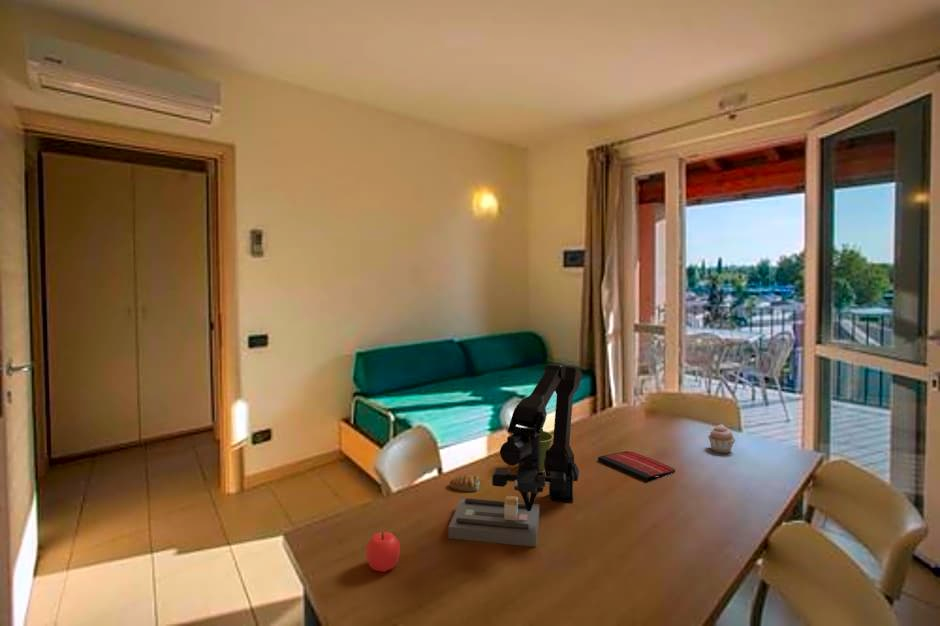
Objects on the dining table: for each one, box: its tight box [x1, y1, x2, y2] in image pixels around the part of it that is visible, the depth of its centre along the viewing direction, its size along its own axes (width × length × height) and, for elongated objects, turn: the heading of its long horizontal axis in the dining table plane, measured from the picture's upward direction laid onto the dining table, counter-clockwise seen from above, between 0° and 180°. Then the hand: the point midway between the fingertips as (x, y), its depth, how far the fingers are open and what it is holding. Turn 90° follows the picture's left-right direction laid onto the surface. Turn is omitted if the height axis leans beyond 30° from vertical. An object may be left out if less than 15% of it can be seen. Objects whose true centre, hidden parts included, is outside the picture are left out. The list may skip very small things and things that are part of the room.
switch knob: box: [504, 495, 519, 521], centre depth 128 cm, size 3×5×4 cm, turn 169°
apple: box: [365, 531, 401, 573], centre depth 112 cm, size 8×8×8 cm
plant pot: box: [540, 430, 554, 472], centre depth 167 cm, size 12×12×11 cm
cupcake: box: [707, 423, 736, 454], centre depth 181 cm, size 9×9×10 cm
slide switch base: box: [447, 497, 541, 548], centre depth 129 cm, size 22×16×4 cm
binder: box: [597, 450, 676, 483], centre depth 168 cm, size 16×2×21 cm
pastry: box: [449, 474, 481, 492], centre depth 153 cm, size 9×7×4 cm
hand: (529, 510), depth 127 cm, fingers closed
